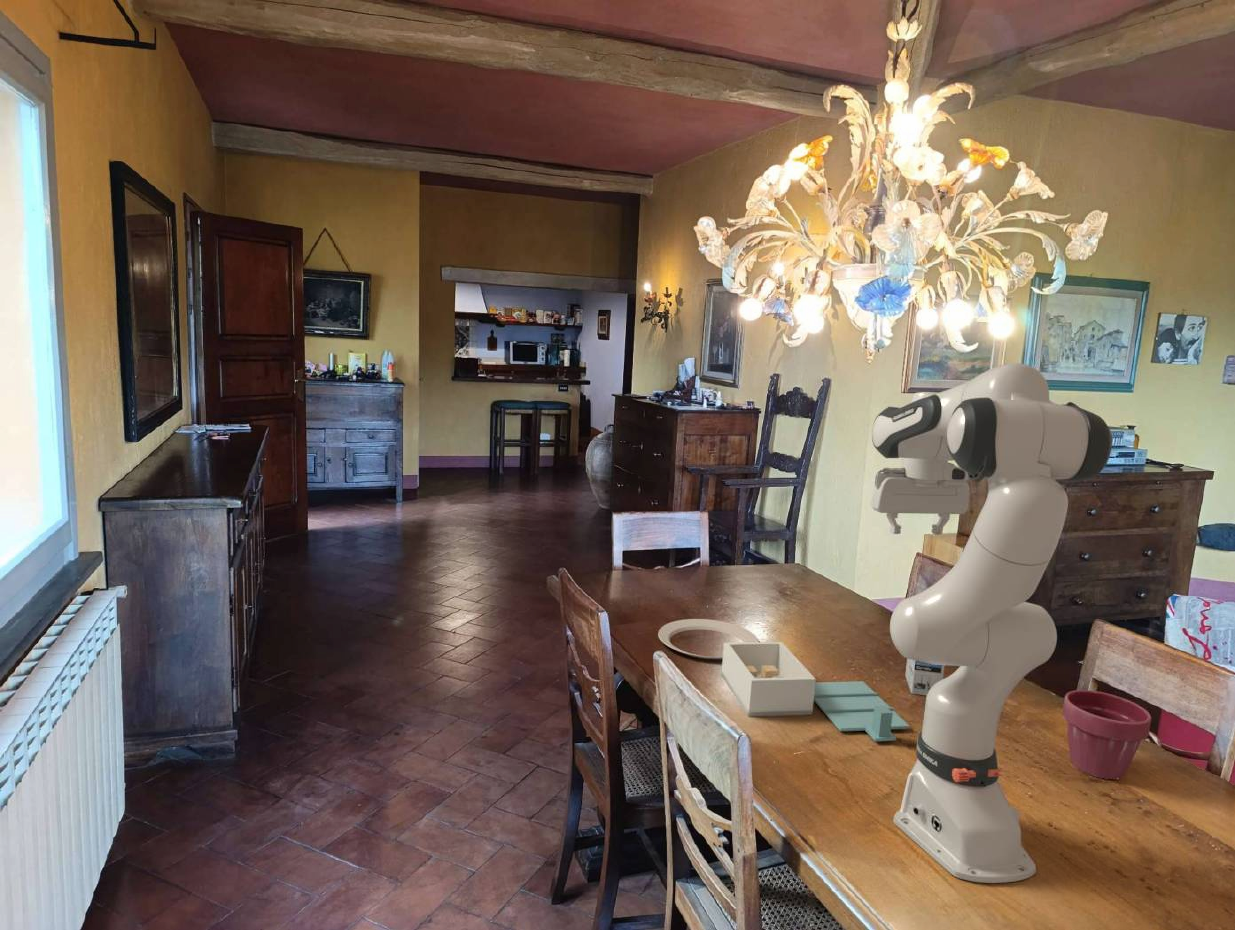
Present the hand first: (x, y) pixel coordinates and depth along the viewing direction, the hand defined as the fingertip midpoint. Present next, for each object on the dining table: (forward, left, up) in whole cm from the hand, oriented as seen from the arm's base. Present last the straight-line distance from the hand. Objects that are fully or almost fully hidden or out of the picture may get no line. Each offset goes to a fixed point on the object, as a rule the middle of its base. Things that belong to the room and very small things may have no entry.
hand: (916, 533), depth 170 cm
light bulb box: (+10, -12, -39) cm, 42 cm away
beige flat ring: (+37, +32, -40) cm, 63 cm away
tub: (+8, +27, -39) cm, 48 cm away
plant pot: (-26, -28, -39) cm, 55 cm away
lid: (-2, +10, -39) cm, 41 cm away
